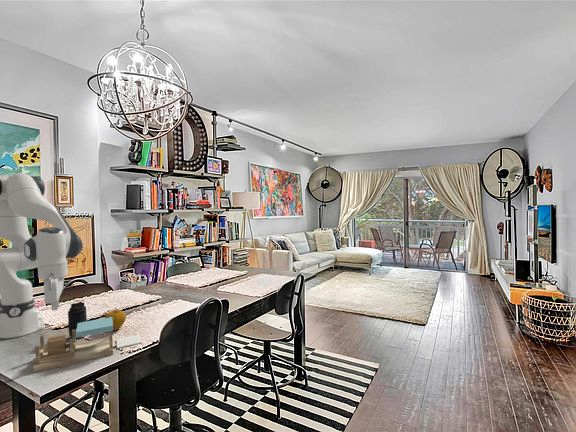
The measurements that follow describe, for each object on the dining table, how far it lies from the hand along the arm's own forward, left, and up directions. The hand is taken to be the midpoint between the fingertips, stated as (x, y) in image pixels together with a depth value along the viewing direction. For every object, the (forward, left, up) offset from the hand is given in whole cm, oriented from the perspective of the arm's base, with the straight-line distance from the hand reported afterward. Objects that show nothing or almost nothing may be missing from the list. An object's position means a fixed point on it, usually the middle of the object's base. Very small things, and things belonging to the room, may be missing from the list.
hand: (55, 308), depth 119 cm
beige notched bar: (0, +5, -19) cm, 20 cm away
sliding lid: (0, +12, -10) cm, 16 cm away
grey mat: (-2, +24, -19) cm, 30 cm away
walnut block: (0, 0, -17) cm, 17 cm away
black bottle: (-21, +5, -19) cm, 29 cm away
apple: (-20, +19, -19) cm, 34 cm away
